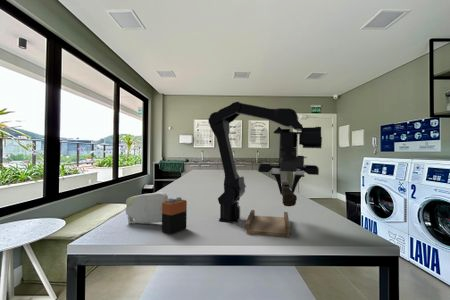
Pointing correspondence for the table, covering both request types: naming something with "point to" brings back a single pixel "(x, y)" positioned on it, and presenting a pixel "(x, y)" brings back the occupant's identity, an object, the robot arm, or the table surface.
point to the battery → (174, 215)
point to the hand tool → (288, 195)
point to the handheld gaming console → (145, 208)
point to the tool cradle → (267, 225)
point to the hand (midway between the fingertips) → (286, 194)
